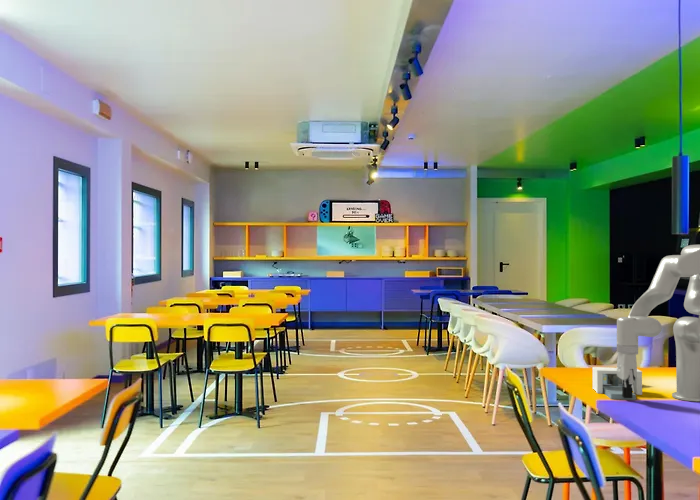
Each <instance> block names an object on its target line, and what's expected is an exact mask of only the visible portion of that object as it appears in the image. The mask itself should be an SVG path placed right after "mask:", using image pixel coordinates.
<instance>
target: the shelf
mask: <svg viewBox="0 0 700 500" xmlns="http://www.w3.org/2000/svg"><path fill="white" fill-rule="evenodd" d="M603 374H617V367H608V366H607V367H605V366H604V367H603V366H602V367H601V366H592V390H593V389H594V390H595V391H596V392H595V391H594V390H593V391H594V392H595V393H597V394H604V393H603V386H612V385H611V384H603ZM618 386H622V385H619V384H618ZM632 391H633V392H632V393H634V394H635V395H636V396H637V395H643V371H642V370H640V369H638V368H637V379H636V380H635V381H634V380H633V387H632Z"/></svg>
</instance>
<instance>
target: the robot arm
mask: <svg viewBox="0 0 700 500" xmlns="http://www.w3.org/2000/svg"><path fill="white" fill-rule="evenodd" d="M680 278H689V282H688V286H687V289H686V293H685V297H684V302H683V307H684V309H685V310H686V312H688V313H689V314H692V315H697V316H698V317H695V316H682V317H679V318H677V319H676V320H675V322H674V324H673V327H672V333H673V336H674V341H675V356H676V357H675V361H676V363H675V364H676V367H675V368H676V369H675V370H676V392H673V393H672V394H671V396H672V397H673V398H674V399H675V400H676V399H678V400H681V401H686V402H688V401H689V402H700V244H690V245H689V244H688V245H686V246H684V247H683V248H682V250H681V252H680V254H672V255H666V256H664V257H663V258H661V260H660V261H659V264H658V266H657V268H656V271H655V274H654V275H653V278H652V280H651V283H650V285H649V287H648V289H647V290H646V291H645V292H643V294H642V295H641V296H640V297H638V299H637V300H636V301H635V303H634V304H633V305H632V307H631V309H630V311H629V313H628V316H622V317H618V318H617V319H616V354H617V359H616V361H617V362H616V368H617V376H618V377H619V378H620V379H622V386H624V387H622V396H623V397H624V398H632V393H633V392H632V387H633V380H634V381H635V380H636V379H637V369H638V367H637V366H638V365H637V355H639V337H645V338H646V337H647V338H654V337H656V336H659V335H660V334H661V332H662V331H663V330H662V329H663V327H662V324H661V322H660V321H659V320H658V319H657V318H655V317H649V315H650V313H651V311H652V310H653V309H655V308H656V307H657V306H658V305H661V304H663V303H665V302H667V301H668V300H670V299H672V297H673V295H674V292H675V290H676V288H677V285H678V284H679V280H680Z"/></svg>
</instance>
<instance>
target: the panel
mask: <svg viewBox="0 0 700 500" xmlns="http://www.w3.org/2000/svg"><path fill="white" fill-rule="evenodd" d="M622 387H624V386H603V393H602V394H604V395H605V396H606V397H607V398H609V399H611V400H620V399H621V400H623V401H624V400H627V401H636V399H637V397H636V396H637V394H635V393H634V392H632V398H624V397H623V396H622Z"/></svg>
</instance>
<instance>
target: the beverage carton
mask: <svg viewBox="0 0 700 500" xmlns="http://www.w3.org/2000/svg"><path fill="white" fill-rule="evenodd" d="M603 384H611V385H612V386H618V384H619V385H622V379H620V378H619V377H618V376H617V374H603Z"/></svg>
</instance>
